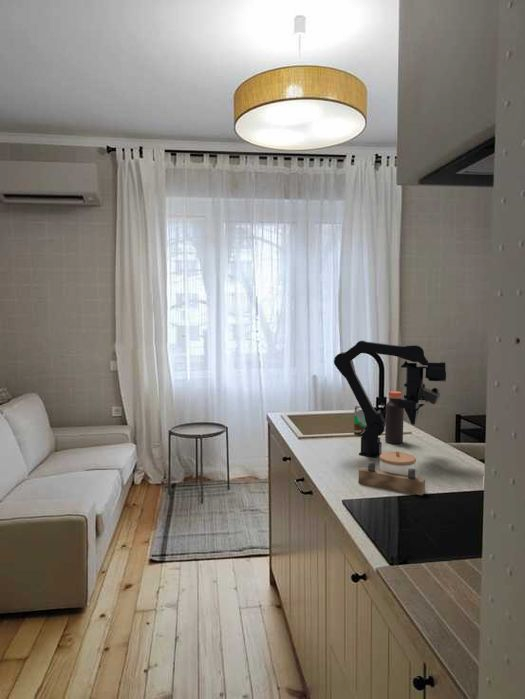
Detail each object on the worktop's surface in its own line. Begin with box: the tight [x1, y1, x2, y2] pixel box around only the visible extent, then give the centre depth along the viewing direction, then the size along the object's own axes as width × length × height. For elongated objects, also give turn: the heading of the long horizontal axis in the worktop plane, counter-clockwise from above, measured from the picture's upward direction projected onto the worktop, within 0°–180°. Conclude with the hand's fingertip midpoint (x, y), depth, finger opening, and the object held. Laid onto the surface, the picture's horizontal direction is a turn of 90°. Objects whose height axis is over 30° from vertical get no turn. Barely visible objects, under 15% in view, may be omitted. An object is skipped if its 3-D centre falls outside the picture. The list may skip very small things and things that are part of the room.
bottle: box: [384, 390, 405, 445], centre depth 198 cm, size 7×7×20 cm
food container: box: [353, 405, 367, 435], centre depth 215 cm, size 12×6×10 cm, turn 168°
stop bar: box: [357, 461, 426, 496], centre depth 148 cm, size 19×3×6 cm, turn 58°
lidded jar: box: [379, 450, 417, 476], centre depth 153 cm, size 11×11×9 cm
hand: (413, 424), depth 177 cm, fingers closed
